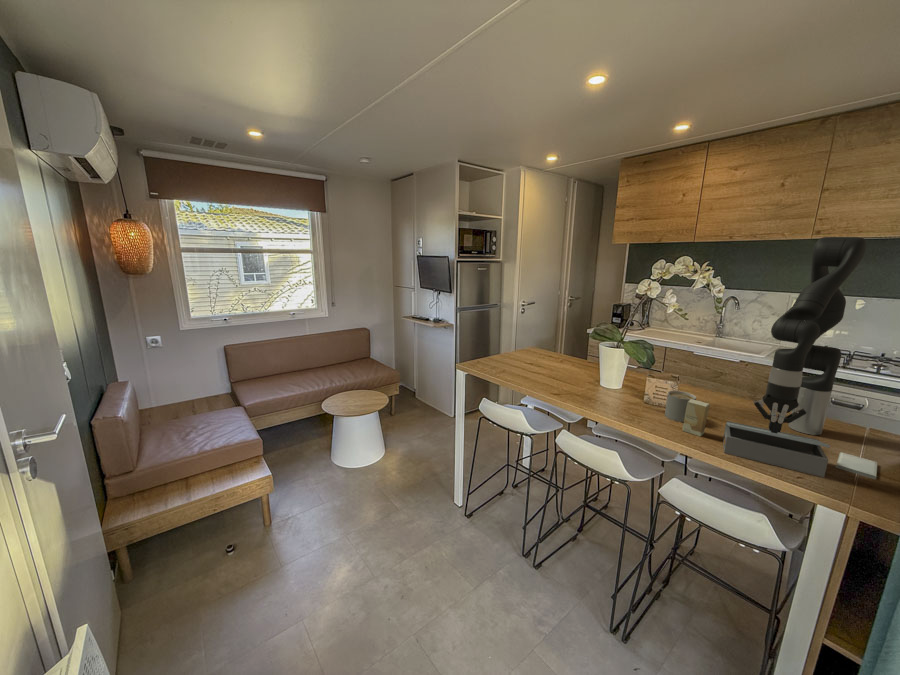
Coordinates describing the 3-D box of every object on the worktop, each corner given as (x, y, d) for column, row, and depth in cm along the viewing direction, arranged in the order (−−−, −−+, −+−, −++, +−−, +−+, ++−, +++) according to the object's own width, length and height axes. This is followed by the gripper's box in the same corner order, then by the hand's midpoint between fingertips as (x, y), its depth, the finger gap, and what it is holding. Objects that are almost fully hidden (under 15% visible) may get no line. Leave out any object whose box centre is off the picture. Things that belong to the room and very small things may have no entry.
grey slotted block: (723, 439, 130) (725, 423, 128) (814, 460, 116) (818, 443, 115) (724, 452, 120) (727, 436, 119) (824, 477, 106) (828, 459, 105)
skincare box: (681, 430, 136) (686, 401, 133) (685, 427, 138) (690, 398, 136) (701, 437, 131) (706, 406, 128) (705, 433, 134) (710, 403, 131)
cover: (726, 424, 128) (726, 421, 128) (817, 443, 115) (818, 439, 115) (729, 426, 118) (729, 423, 118) (829, 447, 105) (830, 444, 105)
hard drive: (876, 476, 105) (877, 461, 113) (836, 464, 111) (840, 451, 119) (875, 481, 106) (876, 466, 113) (835, 469, 112) (839, 455, 120)
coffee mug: (686, 424, 141) (690, 401, 139) (660, 416, 149) (663, 393, 147) (700, 416, 149) (703, 394, 147) (674, 408, 156) (677, 387, 154)
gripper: (810, 382, 111) (799, 433, 115) (755, 375, 118) (746, 422, 122) (816, 389, 105) (804, 442, 109) (758, 381, 113) (748, 431, 116)
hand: (773, 432), depth 116 cm, fingers closed
